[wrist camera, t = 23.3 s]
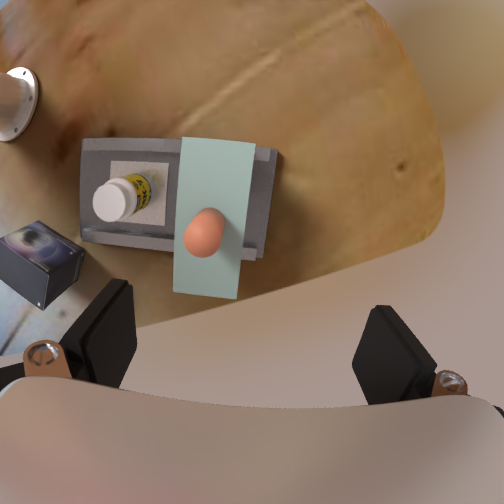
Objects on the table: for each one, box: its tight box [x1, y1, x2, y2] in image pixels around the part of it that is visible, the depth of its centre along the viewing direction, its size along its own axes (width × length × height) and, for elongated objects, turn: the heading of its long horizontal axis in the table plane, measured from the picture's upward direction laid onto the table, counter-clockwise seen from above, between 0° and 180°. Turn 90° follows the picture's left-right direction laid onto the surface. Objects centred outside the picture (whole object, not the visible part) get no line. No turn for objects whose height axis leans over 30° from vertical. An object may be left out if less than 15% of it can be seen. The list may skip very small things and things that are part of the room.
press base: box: [80, 138, 278, 261], centre depth 35 cm, size 26×14×3 cm, turn 83°
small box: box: [0, 221, 85, 311], centre depth 34 cm, size 11×6×10 cm, turn 61°
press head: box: [173, 137, 256, 299], centre depth 27 cm, size 6×14×15 cm, turn 173°
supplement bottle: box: [93, 174, 152, 222], centre depth 31 cm, size 5×5×8 cm
